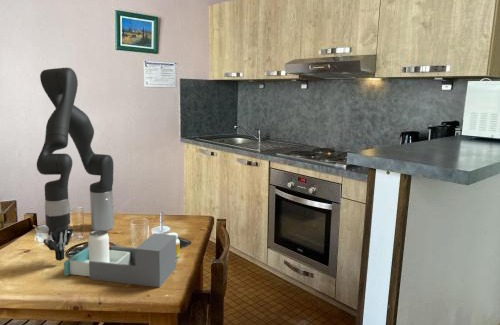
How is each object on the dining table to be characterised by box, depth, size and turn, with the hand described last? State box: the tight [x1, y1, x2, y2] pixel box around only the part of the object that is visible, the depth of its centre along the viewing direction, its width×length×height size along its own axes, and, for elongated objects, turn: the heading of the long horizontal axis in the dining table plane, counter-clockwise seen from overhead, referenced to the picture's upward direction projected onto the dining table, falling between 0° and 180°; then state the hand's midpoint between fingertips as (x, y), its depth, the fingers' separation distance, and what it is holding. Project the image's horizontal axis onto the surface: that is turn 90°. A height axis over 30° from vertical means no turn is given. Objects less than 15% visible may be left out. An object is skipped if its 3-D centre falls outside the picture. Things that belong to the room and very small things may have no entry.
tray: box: [63, 246, 132, 277], centre depth 133 cm, size 14×17×4 cm
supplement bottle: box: [166, 232, 181, 262], centre depth 143 cm, size 5×5×10 cm
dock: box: [89, 233, 177, 288], centre depth 130 cm, size 14×24×12 cm, turn 80°
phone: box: [177, 236, 192, 250], centre depth 160 cm, size 8×1×15 cm
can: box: [87, 230, 110, 263], centre depth 132 cm, size 6×6×12 cm
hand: (60, 259), depth 135 cm, fingers closed
